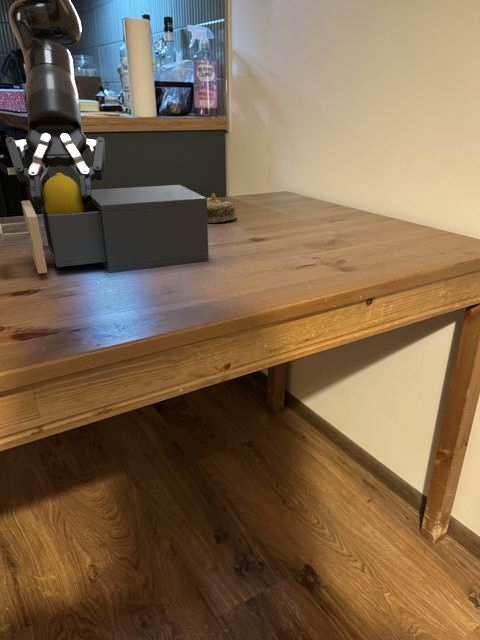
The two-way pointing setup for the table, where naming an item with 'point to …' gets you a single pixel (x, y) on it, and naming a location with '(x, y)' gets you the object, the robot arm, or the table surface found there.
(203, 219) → the cabinet
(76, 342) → the table surface
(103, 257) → the drawer
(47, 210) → the lemon
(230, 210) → the cake
